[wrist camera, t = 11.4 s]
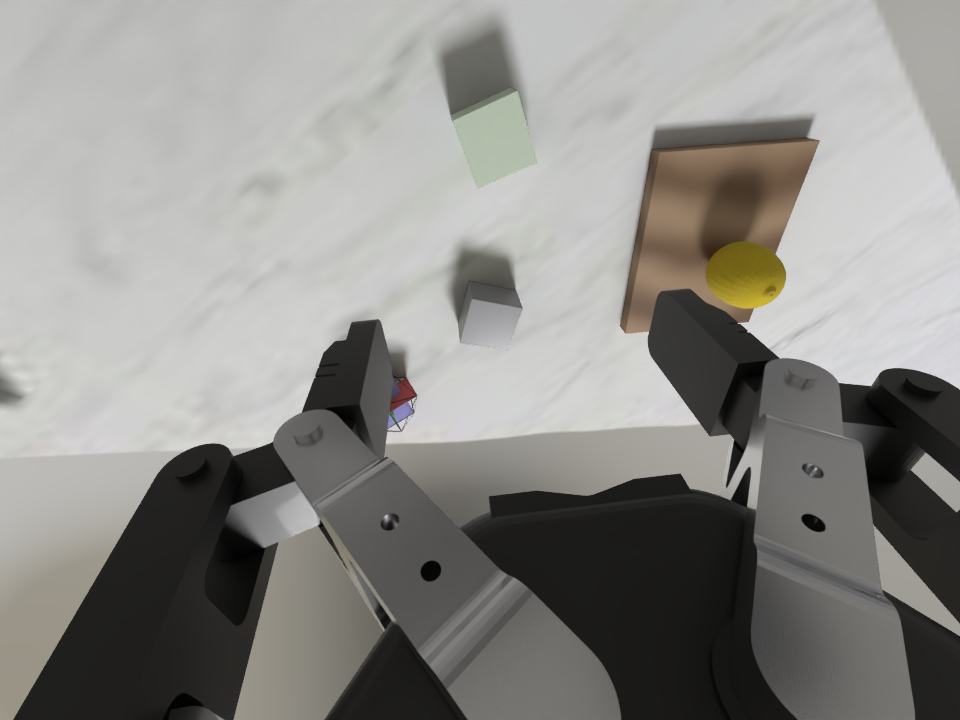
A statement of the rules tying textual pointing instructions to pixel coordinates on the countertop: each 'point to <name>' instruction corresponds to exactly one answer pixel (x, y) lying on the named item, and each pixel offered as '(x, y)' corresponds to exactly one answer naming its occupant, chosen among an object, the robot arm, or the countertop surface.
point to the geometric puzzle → (400, 402)
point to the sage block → (495, 137)
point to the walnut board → (709, 215)
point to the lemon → (745, 275)
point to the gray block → (489, 316)
